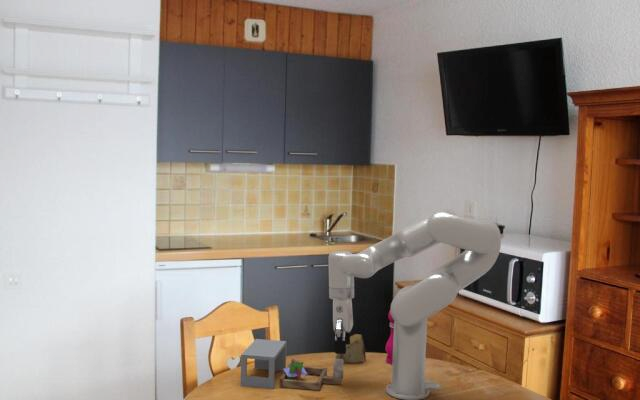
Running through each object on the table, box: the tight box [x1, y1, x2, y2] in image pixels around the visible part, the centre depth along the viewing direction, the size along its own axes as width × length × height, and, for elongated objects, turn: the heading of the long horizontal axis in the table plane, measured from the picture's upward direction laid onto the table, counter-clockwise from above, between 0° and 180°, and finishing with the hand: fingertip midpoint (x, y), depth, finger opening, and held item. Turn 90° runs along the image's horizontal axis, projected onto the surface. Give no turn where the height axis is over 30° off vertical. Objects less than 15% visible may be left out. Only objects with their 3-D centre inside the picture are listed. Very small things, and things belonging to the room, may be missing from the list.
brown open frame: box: [279, 358, 345, 391], centre depth 206 cm, size 18×14×7 cm
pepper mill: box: [384, 310, 395, 365], centre depth 227 cm, size 7×7×20 cm
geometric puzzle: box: [283, 358, 309, 381], centre depth 206 cm, size 7×7×8 cm
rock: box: [334, 333, 367, 364], centre depth 227 cm, size 11×9×10 cm
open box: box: [240, 338, 287, 390], centre depth 208 cm, size 10×17×10 cm, turn 171°
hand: (342, 348), depth 204 cm, fingers open, 9 cm apart
